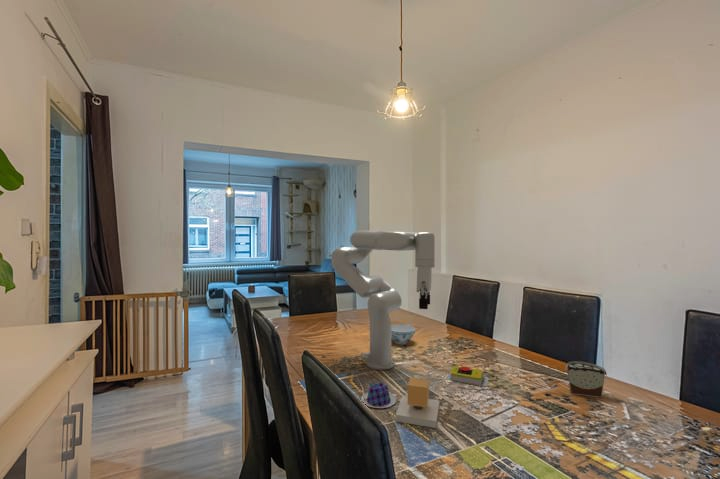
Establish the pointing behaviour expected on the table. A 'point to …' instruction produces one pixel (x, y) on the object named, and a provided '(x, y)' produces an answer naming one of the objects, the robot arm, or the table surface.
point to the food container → (585, 378)
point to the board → (418, 413)
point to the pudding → (379, 396)
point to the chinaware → (402, 333)
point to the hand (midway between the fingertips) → (424, 306)
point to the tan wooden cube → (418, 392)
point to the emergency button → (468, 376)
